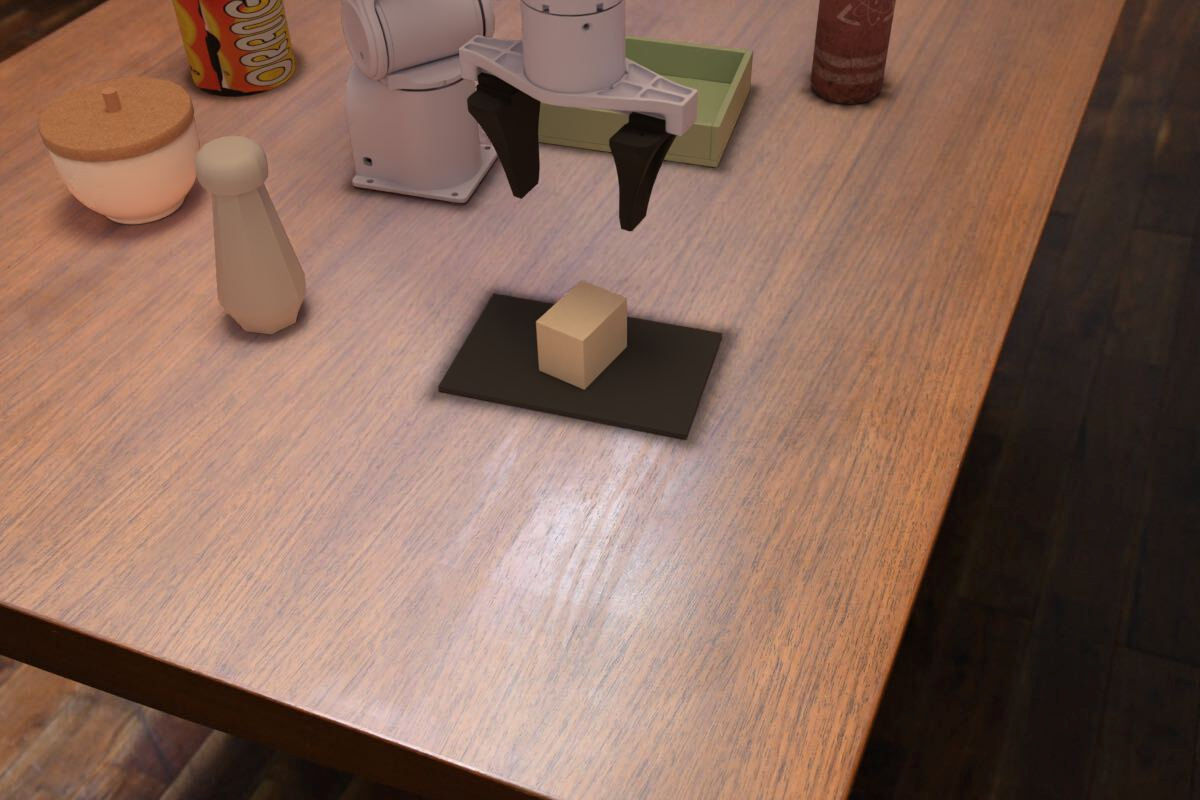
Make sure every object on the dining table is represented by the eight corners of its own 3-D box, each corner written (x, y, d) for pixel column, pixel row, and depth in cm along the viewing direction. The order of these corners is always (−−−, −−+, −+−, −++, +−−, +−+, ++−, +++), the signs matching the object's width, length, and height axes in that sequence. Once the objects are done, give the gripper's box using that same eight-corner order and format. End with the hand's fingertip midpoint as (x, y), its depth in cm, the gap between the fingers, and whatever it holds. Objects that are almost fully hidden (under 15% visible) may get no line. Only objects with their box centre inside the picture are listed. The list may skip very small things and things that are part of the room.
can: (893, 81, 105) (920, -82, 96) (864, 112, 101) (889, -54, 92) (829, 64, 108) (849, -96, 98) (798, 94, 104) (815, -70, 94)
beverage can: (174, 91, 106) (137, -45, 98) (220, 44, 112) (189, -87, 104) (270, 100, 104) (240, -37, 96) (311, 53, 111) (286, -79, 102)
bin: (499, 136, 99) (496, 96, 97) (550, 63, 108) (548, 25, 106) (716, 167, 95) (719, 127, 93) (750, 89, 104) (753, 50, 102)
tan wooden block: (538, 370, 77) (535, 321, 74) (582, 328, 80) (581, 279, 77) (584, 390, 75) (583, 340, 73) (627, 346, 78) (627, 297, 76)
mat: (438, 391, 76) (437, 386, 76) (493, 297, 83) (493, 292, 83) (686, 439, 73) (686, 434, 72) (722, 337, 80) (722, 332, 79)
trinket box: (177, 249, 88) (142, 135, 82) (43, 234, 90) (-2, 121, 83) (238, 171, 96) (210, 61, 89) (114, 159, 97) (78, 50, 91)
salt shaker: (237, 353, 79) (189, 182, 70) (215, 305, 83) (166, 137, 74) (323, 325, 81) (286, 156, 72) (298, 280, 85) (260, 114, 76)
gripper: (726, -9, 65) (713, 204, 75) (498, -58, 71) (512, 147, 80) (667, 44, 61) (661, 264, 70) (429, -12, 66) (453, 199, 75)
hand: (578, 205), depth 75 cm, fingers open, 7 cm apart
